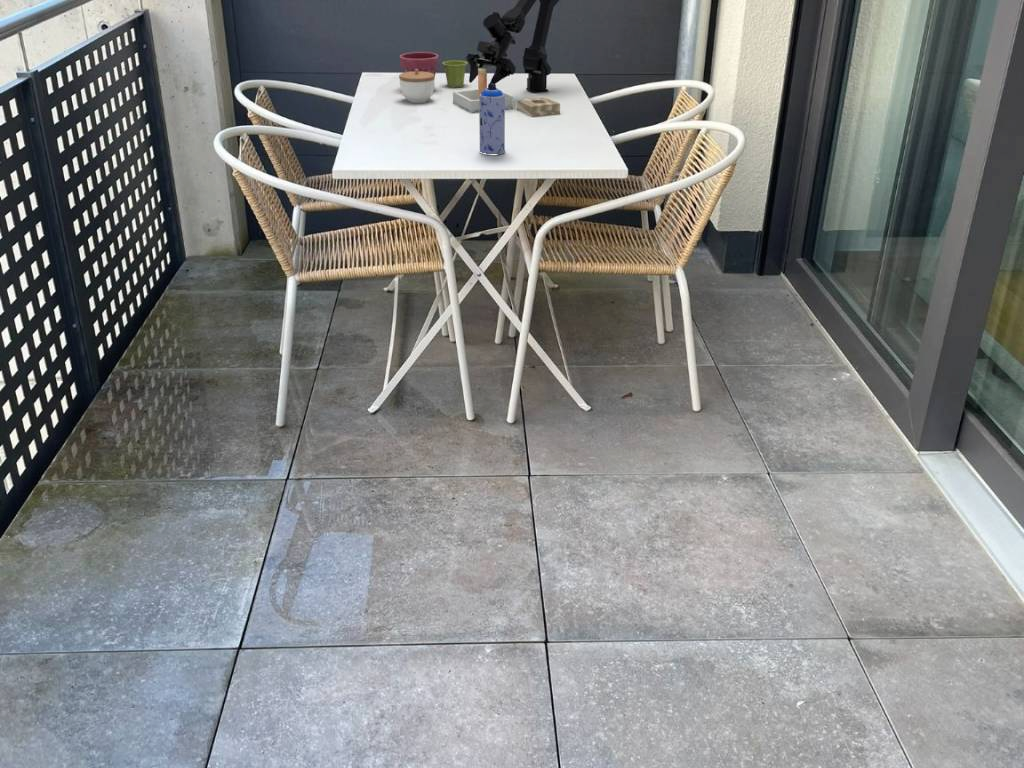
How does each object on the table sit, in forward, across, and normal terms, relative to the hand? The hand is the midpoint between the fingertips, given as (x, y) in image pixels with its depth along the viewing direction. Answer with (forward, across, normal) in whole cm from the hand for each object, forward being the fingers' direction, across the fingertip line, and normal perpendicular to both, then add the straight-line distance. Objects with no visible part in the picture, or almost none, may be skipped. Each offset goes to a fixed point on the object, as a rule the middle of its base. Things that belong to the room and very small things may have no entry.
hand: (480, 83), depth 352 cm
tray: (+5, 0, +6) cm, 8 cm away
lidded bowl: (+11, -23, +1) cm, 26 cm away
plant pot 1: (+1, -34, +10) cm, 36 cm away
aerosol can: (+37, +41, -26) cm, 61 cm away
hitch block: (+1, +21, +10) cm, 23 cm away
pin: (+4, 0, +6) cm, 7 cm away
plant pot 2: (-9, -29, +20) cm, 37 cm away
